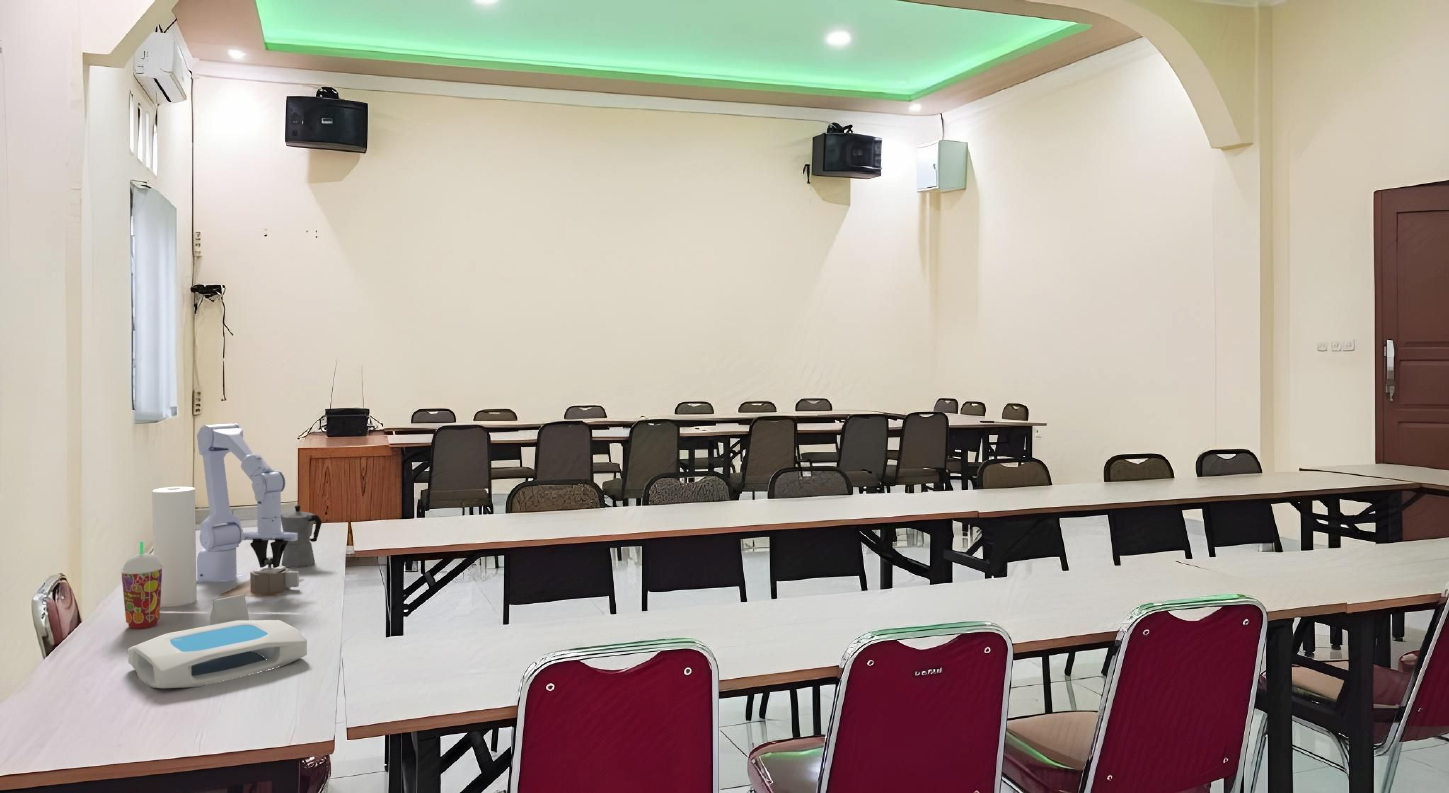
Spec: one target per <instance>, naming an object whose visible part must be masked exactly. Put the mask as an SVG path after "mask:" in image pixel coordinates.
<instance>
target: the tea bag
mask: <svg viewBox="0 0 1449 793" xmlns="http://www.w3.org/2000/svg"><path fill="white" fill-rule="evenodd" d="M249 617H250V616H249V609H248V605H247V600H246V596H245V595H244V594H243V595H238V596H227V597H223V598H218V599H213V600H212V607H211V612H210V616H209V625H215V624H220V623H226V622H231V621H237V620H250V619H249Z"/></svg>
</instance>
